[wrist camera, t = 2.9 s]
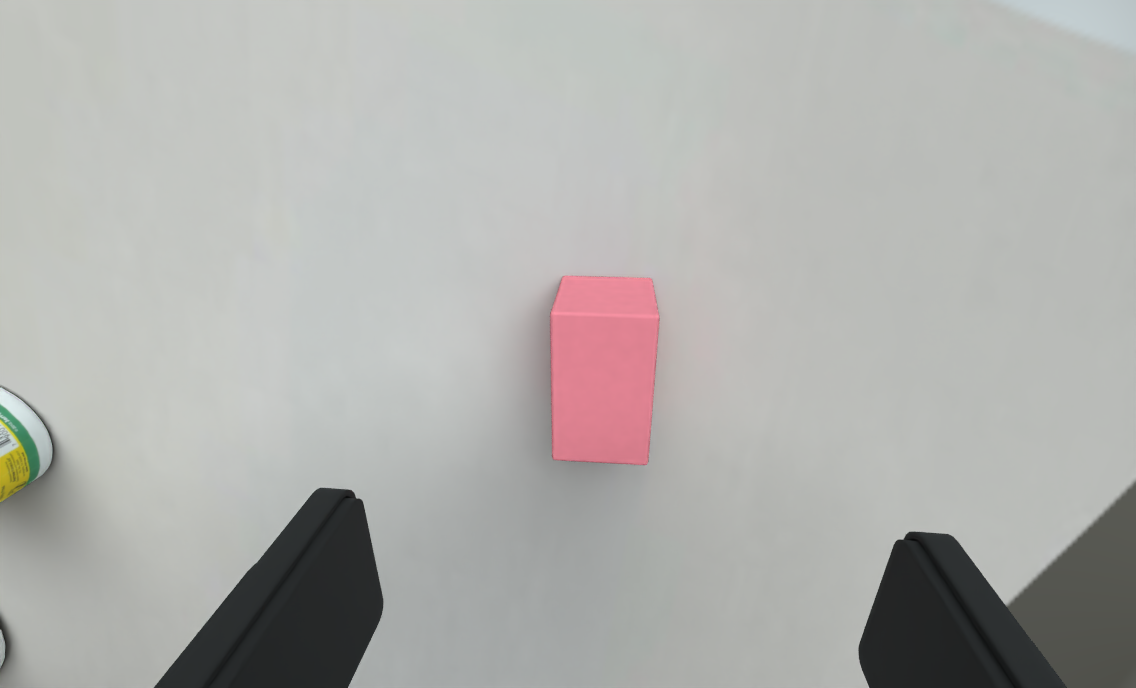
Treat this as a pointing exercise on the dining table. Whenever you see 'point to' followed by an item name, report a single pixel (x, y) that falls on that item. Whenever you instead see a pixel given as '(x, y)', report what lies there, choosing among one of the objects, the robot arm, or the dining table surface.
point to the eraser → (603, 369)
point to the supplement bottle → (21, 445)
